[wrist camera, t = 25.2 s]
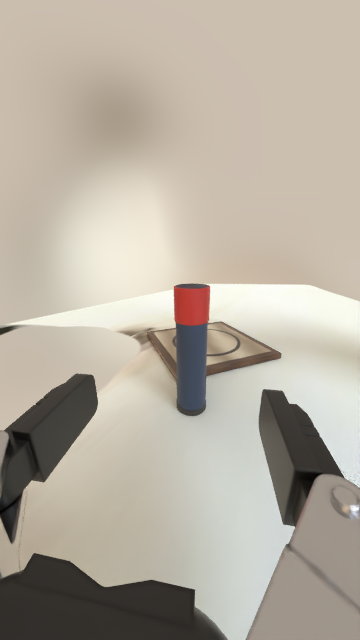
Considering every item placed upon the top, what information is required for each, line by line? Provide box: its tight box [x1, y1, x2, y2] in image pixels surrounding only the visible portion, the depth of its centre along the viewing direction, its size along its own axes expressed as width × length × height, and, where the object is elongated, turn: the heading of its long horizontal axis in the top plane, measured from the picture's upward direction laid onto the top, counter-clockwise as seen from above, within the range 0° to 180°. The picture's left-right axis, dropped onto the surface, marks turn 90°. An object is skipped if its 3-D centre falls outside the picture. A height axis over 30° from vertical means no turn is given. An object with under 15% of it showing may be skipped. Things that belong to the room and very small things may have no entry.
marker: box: [174, 284, 210, 416], centre depth 19 cm, size 3×3×12 cm
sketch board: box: [147, 322, 281, 381], centre depth 34 cm, size 16×16×1 cm
